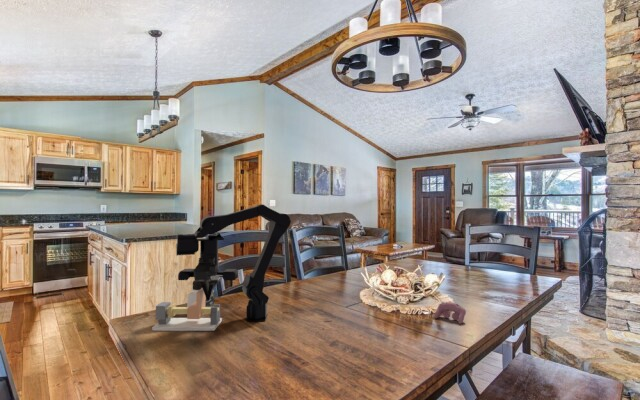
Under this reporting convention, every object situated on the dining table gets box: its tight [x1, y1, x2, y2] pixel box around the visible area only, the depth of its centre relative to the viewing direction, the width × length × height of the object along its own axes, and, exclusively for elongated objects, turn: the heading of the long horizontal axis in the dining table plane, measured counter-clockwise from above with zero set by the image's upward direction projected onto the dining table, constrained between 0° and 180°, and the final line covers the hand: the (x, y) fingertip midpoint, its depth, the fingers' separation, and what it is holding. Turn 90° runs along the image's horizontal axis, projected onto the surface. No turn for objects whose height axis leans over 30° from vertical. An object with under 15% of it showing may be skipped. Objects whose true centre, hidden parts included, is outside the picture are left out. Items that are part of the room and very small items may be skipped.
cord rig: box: [151, 301, 223, 332], centre depth 112 cm, size 20×9×7 cm, turn 91°
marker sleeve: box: [186, 288, 206, 319], centre depth 112 cm, size 4×6×9 cm, turn 1°
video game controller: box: [434, 301, 467, 325], centre depth 120 cm, size 10×5×7 cm, turn 48°
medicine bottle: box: [186, 279, 215, 307], centre depth 127 cm, size 7×7×12 cm
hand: (208, 300), depth 112 cm, fingers closed
